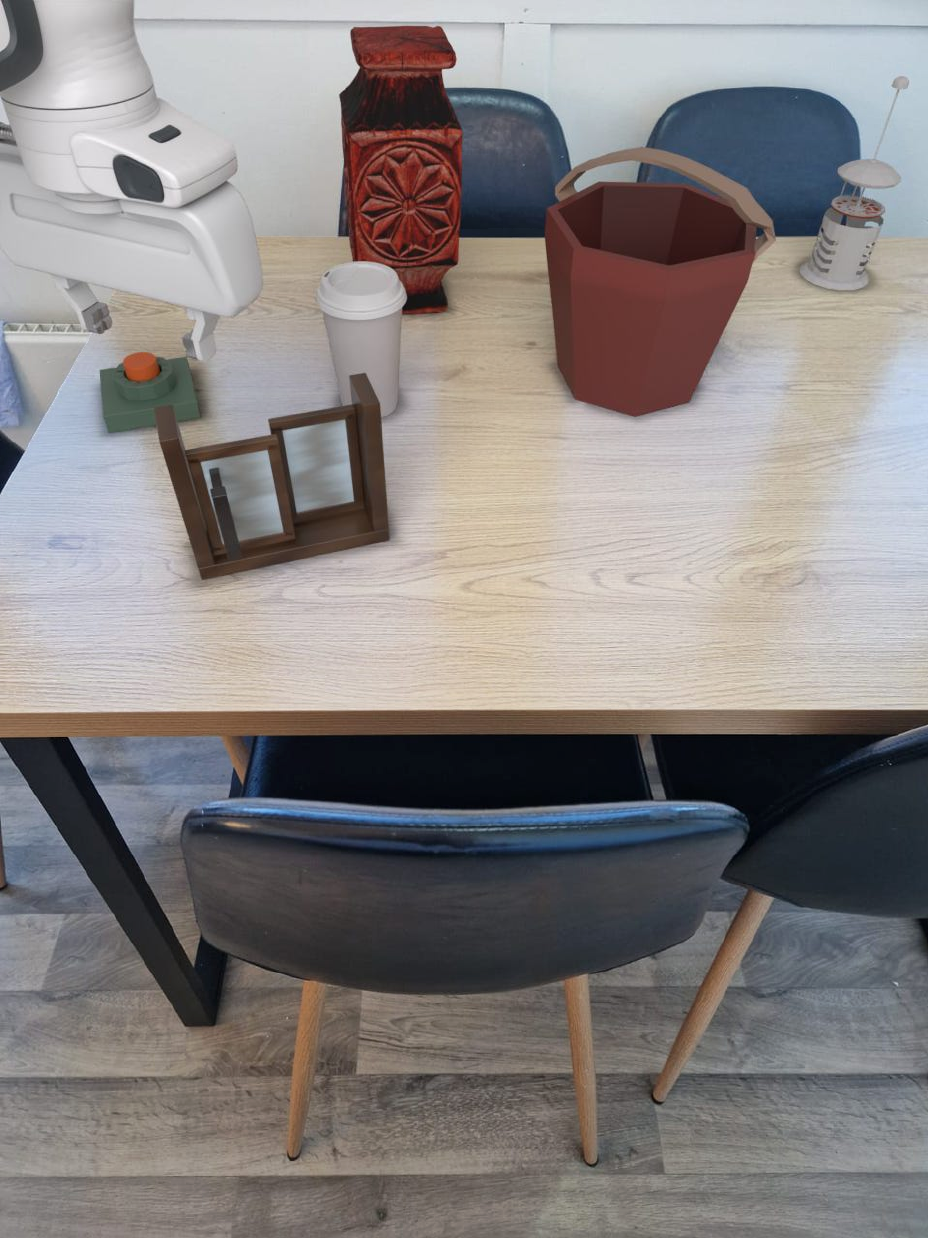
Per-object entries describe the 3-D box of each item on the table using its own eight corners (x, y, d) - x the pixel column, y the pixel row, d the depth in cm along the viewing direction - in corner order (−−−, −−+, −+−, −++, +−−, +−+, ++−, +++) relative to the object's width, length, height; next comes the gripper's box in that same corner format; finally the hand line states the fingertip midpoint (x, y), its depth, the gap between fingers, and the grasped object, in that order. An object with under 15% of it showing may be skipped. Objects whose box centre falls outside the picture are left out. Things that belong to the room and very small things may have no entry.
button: (128, 384, 92) (123, 370, 91) (126, 368, 95) (121, 354, 93) (161, 379, 93) (157, 365, 92) (158, 363, 96) (154, 349, 94)
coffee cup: (364, 372, 101) (354, 249, 90) (427, 398, 98) (424, 273, 87) (311, 408, 96) (293, 282, 85) (375, 437, 93) (365, 309, 81)
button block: (109, 433, 92) (98, 402, 89) (105, 386, 99) (94, 355, 96) (200, 417, 95) (193, 386, 92) (191, 372, 101) (183, 342, 98)
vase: (461, 318, 111) (464, 53, 89) (357, 324, 109) (335, 56, 87) (446, 271, 120) (446, 20, 98) (351, 276, 119) (329, 22, 96)
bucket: (763, 394, 100) (835, 170, 81) (632, 460, 90) (679, 225, 72) (619, 312, 113) (653, 103, 94) (491, 363, 103) (501, 143, 85)
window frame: (201, 580, 77) (159, 441, 66) (195, 545, 80) (153, 407, 69) (389, 540, 81) (380, 402, 70) (376, 508, 84) (365, 372, 73)
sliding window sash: (220, 590, 74) (191, 488, 65) (213, 550, 77) (184, 449, 69) (305, 571, 76) (287, 470, 67) (294, 534, 79) (276, 433, 70)
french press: (804, 287, 118) (869, 85, 100) (793, 252, 126) (852, 58, 108) (875, 292, 117) (954, 90, 99) (860, 256, 125) (931, 62, 107)
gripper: (-73, 129, 53) (10, 332, 63) (197, 183, 48) (240, 394, 58) (0, 101, 57) (67, 296, 67) (257, 149, 52) (287, 352, 62)
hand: (149, 342), depth 62 cm, fingers open, 8 cm apart
